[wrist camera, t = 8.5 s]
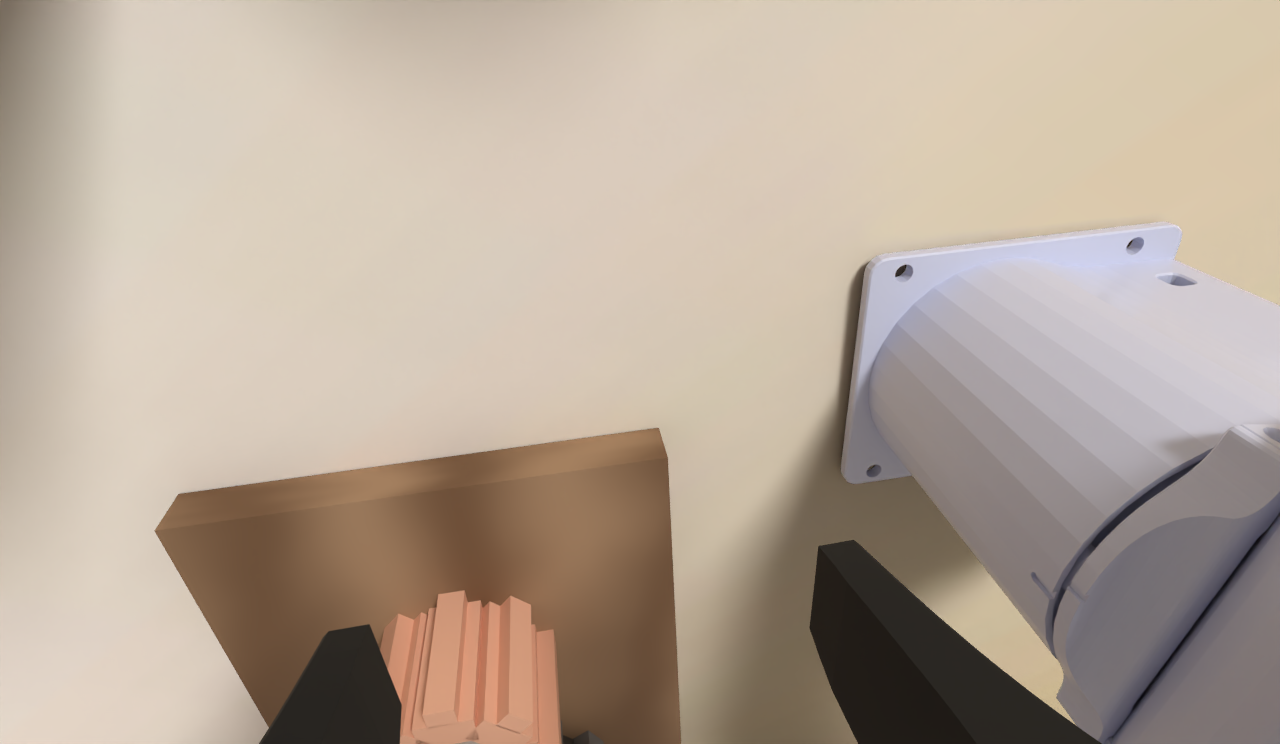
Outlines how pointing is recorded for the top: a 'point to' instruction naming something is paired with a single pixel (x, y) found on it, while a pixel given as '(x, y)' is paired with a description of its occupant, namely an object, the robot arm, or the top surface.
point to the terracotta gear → (474, 674)
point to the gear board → (454, 567)
